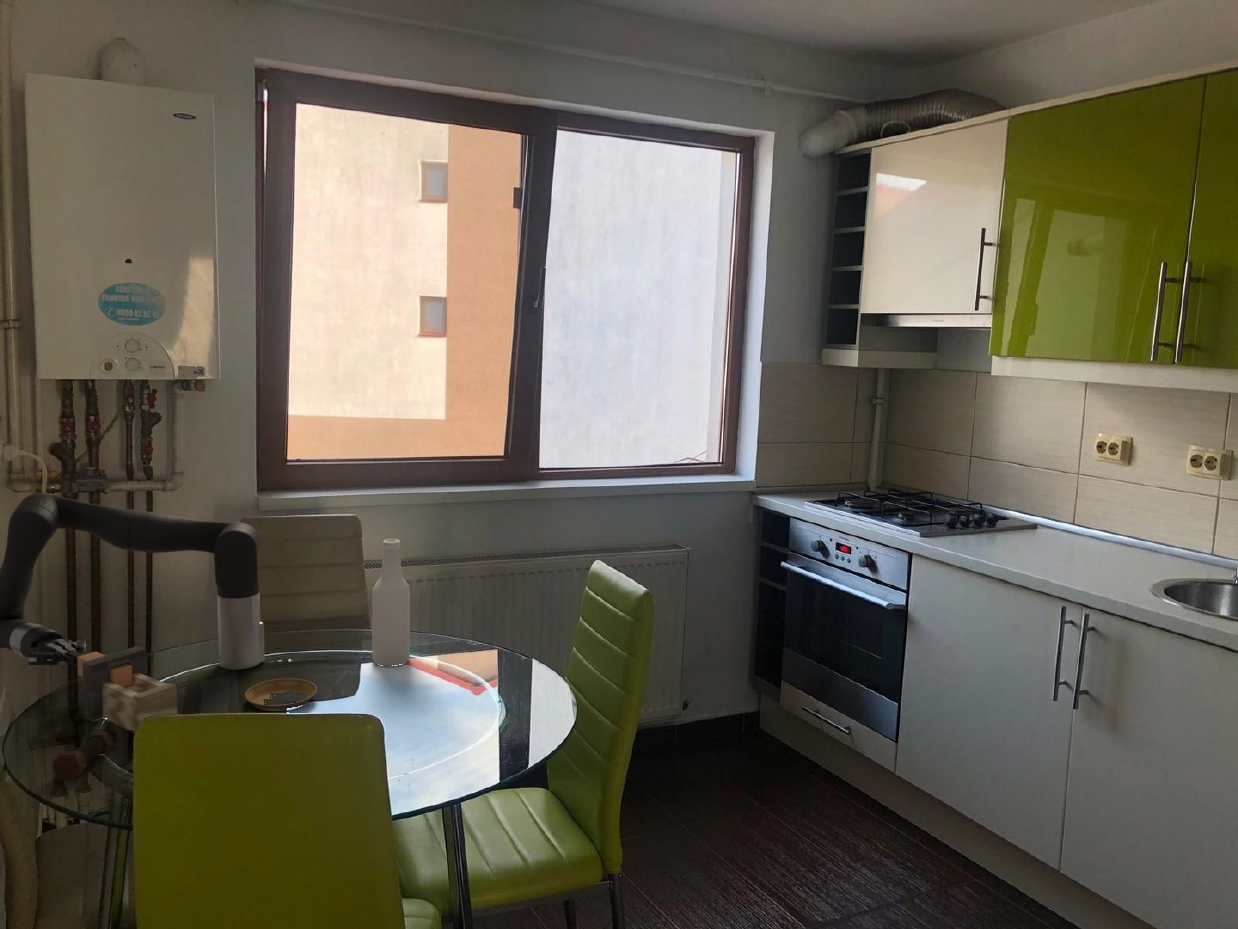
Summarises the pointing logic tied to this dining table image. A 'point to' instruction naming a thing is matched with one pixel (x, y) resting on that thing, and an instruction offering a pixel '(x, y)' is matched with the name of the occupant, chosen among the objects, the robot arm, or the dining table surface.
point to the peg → (116, 674)
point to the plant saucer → (279, 686)
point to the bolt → (83, 754)
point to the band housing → (125, 690)
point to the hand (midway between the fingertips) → (80, 660)
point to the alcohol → (391, 610)
